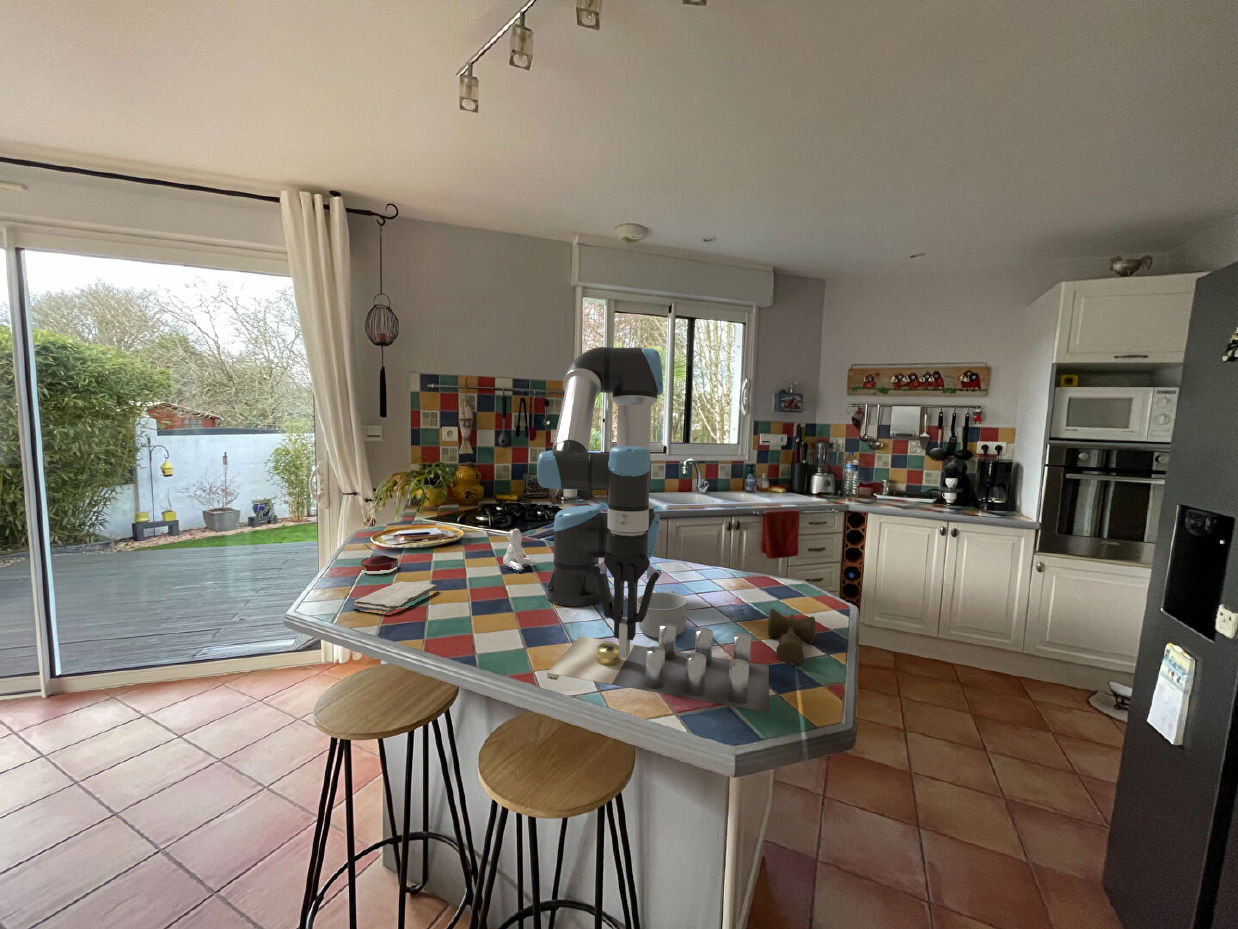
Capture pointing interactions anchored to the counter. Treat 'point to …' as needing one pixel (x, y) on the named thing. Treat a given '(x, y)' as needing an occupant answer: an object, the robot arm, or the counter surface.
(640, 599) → the teacup
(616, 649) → the brass knob
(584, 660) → the board
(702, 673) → the steel spacers
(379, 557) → the red and clear bowl
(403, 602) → the washcloth
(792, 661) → the kendama
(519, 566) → the sitting furry creature
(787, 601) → the counter surface
